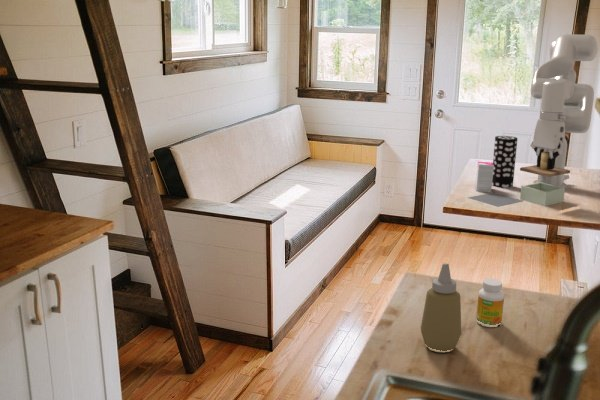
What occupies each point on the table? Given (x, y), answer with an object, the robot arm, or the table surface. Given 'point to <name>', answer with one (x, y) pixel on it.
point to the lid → (544, 167)
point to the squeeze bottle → (442, 313)
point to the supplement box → (484, 176)
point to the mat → (495, 199)
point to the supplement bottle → (490, 302)
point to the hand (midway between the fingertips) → (545, 167)
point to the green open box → (542, 194)
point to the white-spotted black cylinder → (504, 161)
